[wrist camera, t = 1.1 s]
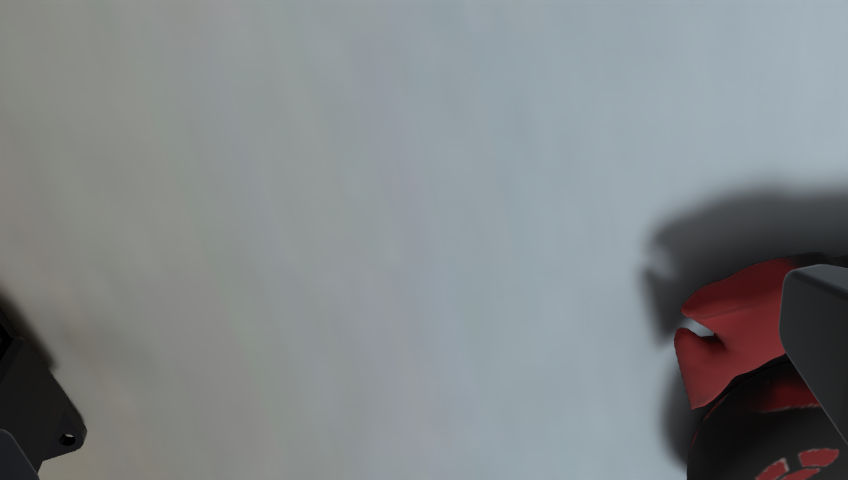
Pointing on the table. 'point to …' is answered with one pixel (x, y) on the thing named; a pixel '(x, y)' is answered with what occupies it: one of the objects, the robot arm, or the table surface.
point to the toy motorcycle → (754, 384)
